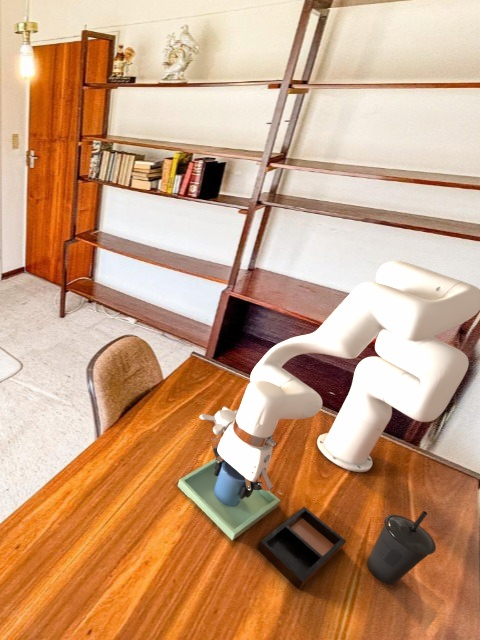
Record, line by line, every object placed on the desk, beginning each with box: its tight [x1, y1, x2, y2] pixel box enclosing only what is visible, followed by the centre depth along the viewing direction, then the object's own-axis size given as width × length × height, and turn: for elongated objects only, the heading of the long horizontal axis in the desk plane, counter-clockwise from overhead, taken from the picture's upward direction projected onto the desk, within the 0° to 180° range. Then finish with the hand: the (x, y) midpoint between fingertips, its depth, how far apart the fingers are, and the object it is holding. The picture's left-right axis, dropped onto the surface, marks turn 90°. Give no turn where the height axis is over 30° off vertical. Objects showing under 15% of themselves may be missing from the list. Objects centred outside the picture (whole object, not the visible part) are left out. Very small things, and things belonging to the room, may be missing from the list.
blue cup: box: [213, 461, 246, 507], centre depth 96 cm, size 6×6×9 cm
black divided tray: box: [256, 506, 347, 591], centre depth 87 cm, size 17×9×3 cm, turn 119°
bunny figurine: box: [199, 406, 239, 436], centre depth 118 cm, size 10×5×15 cm
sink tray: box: [177, 457, 281, 541], centre depth 98 cm, size 18×16×3 cm
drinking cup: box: [366, 510, 437, 585], centre depth 80 cm, size 8×8×20 cm
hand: (231, 483), depth 97 cm, fingers closed on blue cup, 6 cm apart
